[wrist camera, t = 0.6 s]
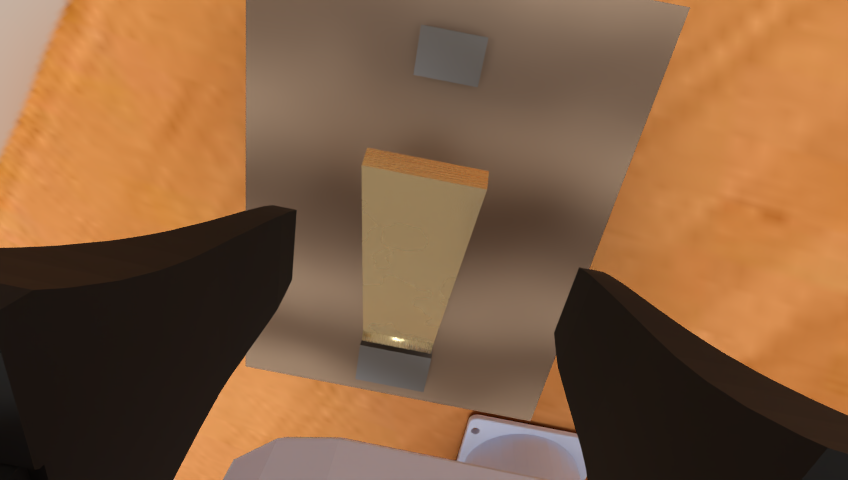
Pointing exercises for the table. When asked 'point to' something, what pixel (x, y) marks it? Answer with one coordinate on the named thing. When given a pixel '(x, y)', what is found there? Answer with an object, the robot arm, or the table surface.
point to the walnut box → (456, 144)
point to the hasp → (413, 243)
